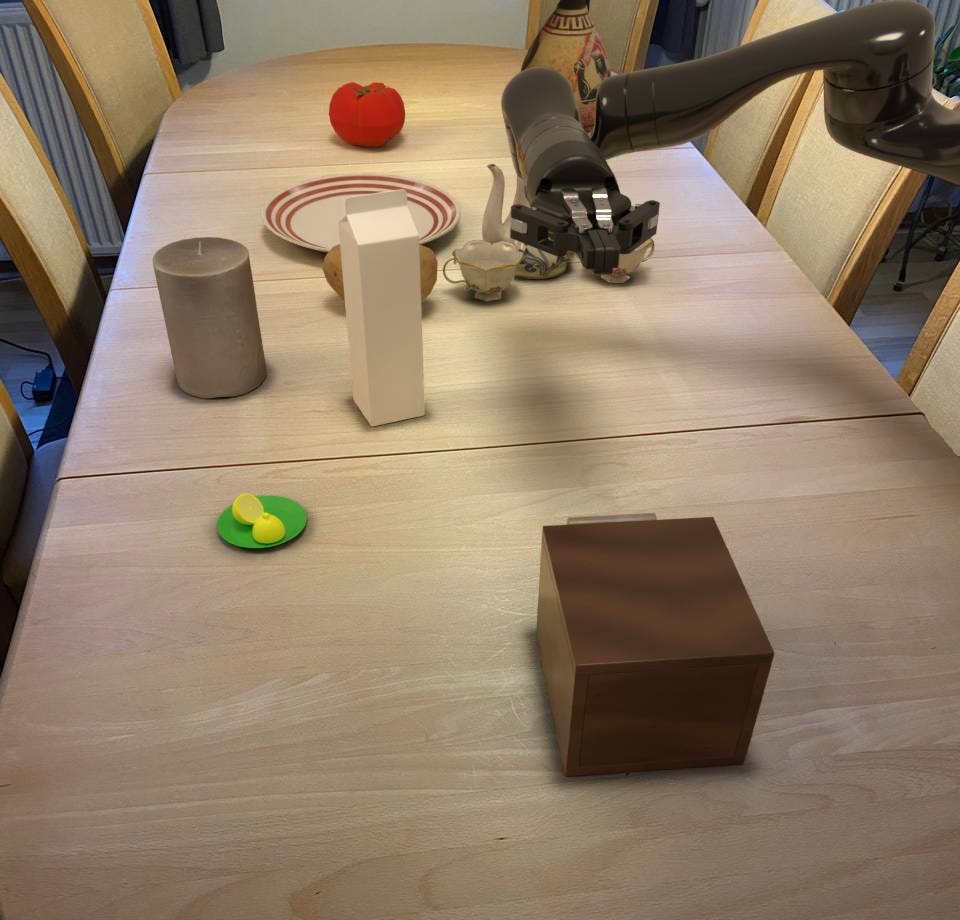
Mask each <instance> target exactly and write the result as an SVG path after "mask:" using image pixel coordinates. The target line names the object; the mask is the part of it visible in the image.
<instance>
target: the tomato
mask: <svg viewBox="0 0 960 920" xmlns="http://www.w3.org/2000/svg"><path fill="white" fill-rule="evenodd" d="M328 107H329V108H328V116H329V123H330V125H331V127H332V129H333V130H334V132H335V133H336V134H337V136H338V137H339V138H340V139H341V140H343V141H344V142H346V143H349V144H351V145H355V146H360V147H361V146H362V147H369V148H370V147H371V148H374V147H375V148H376V147H379V146H381V145H383V144H385V143H387V141H388V140H389V141H390V140H392V139H394V138H395V137H396V136H397V135H399V134H400V133H401V131H402V129H403V127H404V125H405V122H406V108H405V103H404V100H403V98H402V96H401V94H400V93H399V92H398V91H397V89H395V88H392V87H391V85H390V86H389V85H385V83H384V82H374V81H373V82H371V83H370V84H368V85H365V86H363V85H361V84H359V83H357V82H355V81H353V82H348V83H345V84H342V86H341V87H340V86H339V87H338V88H337V89H336V90H335V92H333V94H332V96H331V99H330V102H329V106H328Z"/></svg>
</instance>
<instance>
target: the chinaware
mask: <svg viewBox="0 0 960 920" xmlns="http://www.w3.org/2000/svg"><path fill="white" fill-rule="evenodd" d="M486 167H487V168H488V170H489V172H491V174H492V178H493V181H492V186H491V190H490V192H489V197H488V199H487V203H486V206H485V209H484V213H483V217H482V223H481V232H482V233H481V234H482V239H483V240H482V239H473V240H471V241H468V242H467V243H466V244H465V245H464V246H463V247H462V248H455V249H454V250H453V251H452V254H451V255H452V256H453V257H451V258H448V259H447V260H446V261H445V263H444V264H443V267H442V275H443V277H444V279H445V280H446V281H447V282H448V283H450V284H460V283H465V286H464V291H469V290H471V289H472V290H474V291H475V293H474V298H475V299H478V300H481V301H485V302H491V301H496V300H501V299H502V296H503V295H502V292H503V290H505V289H506V288H508V287H509V286H510V285H511V283H512V282H513V280H514V278H515V277H516V278H521V279H527V280H547V279H551V278H552V279H553V278H556V277H559V276H560V275H562V274H564V273H565V272H566V270H567V268H568V267H567V263H569V262H570V261H572V259H573V258H574V257H575V255H574V253H573V252H568V251H567V254H566V255H565V256H560V257H559V256H554V255H552V254H549V253H547V252H544V251H542V250H539V249H537V248H534V247H532V246H529V245H527V244H524V243H522V242H519V241H517V240H514V239H512V238H510V220H511V210H510V211H509V213H508V215H507V217H506V219H504V222H503V208H504V207H503V206H504V199H505V189H506V186H505V185H506V181H505V176H504V175H505V174H504V172H503V170H502V169H501V168H500V167H499V166H498V165H496V164H494V163H489V164H487V166H486ZM516 204H520V205H524V206H526V207H529V208H531V207H530V205H529V202H528V201H527V199H526V197H525V193H524V186H523V180H522V179H521V178H520V177H519V176H518V175H517V174H516V189H515V194H514V199H513V202H512V205H516ZM548 238H549V237H548ZM549 240H551V241H553V240H552V239H550V238H549ZM655 245H656V244H655V241H654V240H653V237H651V238H650V239H648V240H647V241H646V242H644V243H643V244H642V245H640V246H639V247H638V248H636V249H635V250H634V251H632V252H631V253H629V254H620V259H619V266H618V268H613V272H612V274H609V275H600V278H601V279H603V280H604V281H605V282H607V283H614V284H620V283H622V284H624V283H626V281H628V280H629V279H630V278H631V276H630V275H629V274H630V273H632V272H633V271H635V270H636V269H637V268H638V267H640V265H641V263H643V262H646V261H648V260H649V259H650V258H651V257H652V256H653V253H654V251H655ZM648 249H650V251H649V253H648V255H646V253H647V250H648ZM645 255H646V256H645ZM452 261H453V265H457V264H458V265H459V266H458V267H459V268H460V272H461V275H462V278H463V279H459V280H452V279H451V278H449V277H448V276H447V273H446V268H447V265H448V264H449V263H450V262H452Z"/></svg>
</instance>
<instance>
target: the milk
mask: <svg viewBox="0 0 960 920" xmlns="http://www.w3.org/2000/svg"><path fill="white" fill-rule="evenodd" d="M345 208H346V215H345V216H344V217H343V218H342V219H341V220H340V221H339V222H338V227H339V238H340V250H341V262H342V273H343V285H344V297H345V301H344V306H345V318H346V331H347V332H346V333H347V341H348V342H347V343H348V353H349V365H350V367H349V368H350V378H351V389H352V400H353V402H354V403H355V404H356V406H357V407H358V409H359V410H360V412H361V414H362V416H364V418H365V419H366V421H367V423H368V424H369V425H370V427H377V426H381V425H386V424H390V423H391V424H392V423H396V422H400V421H405V420H409V419H413V418H419V417H424V416H425V415H426V410H425V409H426V408H425V407H426V405H425V403H426V402H425V378H424V377H425V375H424V348H423V346H424V345H423V344H424V343H423V317H422V316H423V315H422V314H423V313H422V303H421V282H420V251H419V234H418V231H417V229H416V226H415V224H414V221H413V219H412V216H411V214H410V211H409V209H408V206H407V192H406V191H405V190H404V189H401V190H394V191H387V192H380V193H373V194H366V195H359V196H352V197H347V198H346V200H345Z"/></svg>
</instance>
